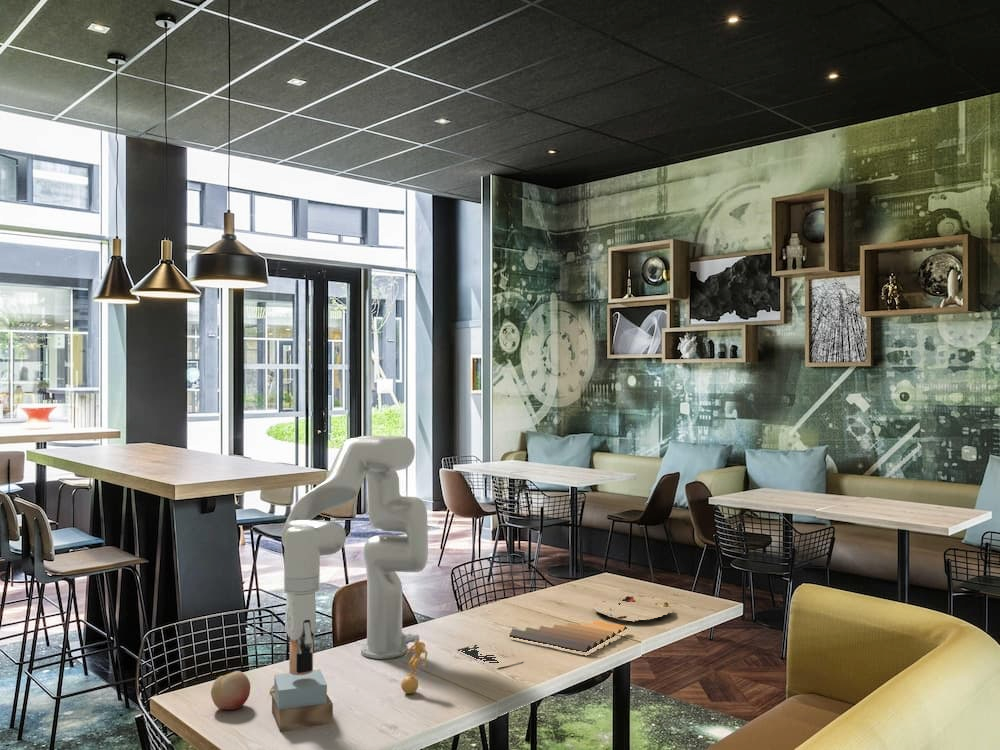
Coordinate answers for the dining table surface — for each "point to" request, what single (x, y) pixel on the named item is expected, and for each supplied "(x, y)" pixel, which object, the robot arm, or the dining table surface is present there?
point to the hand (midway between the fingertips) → (301, 666)
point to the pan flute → (571, 635)
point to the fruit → (230, 690)
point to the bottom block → (302, 715)
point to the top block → (300, 690)
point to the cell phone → (475, 654)
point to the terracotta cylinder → (294, 657)
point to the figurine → (413, 668)
